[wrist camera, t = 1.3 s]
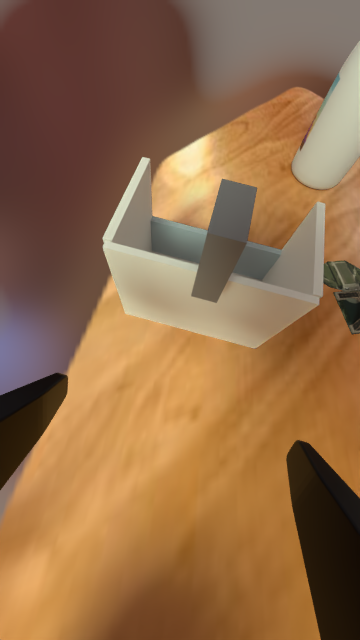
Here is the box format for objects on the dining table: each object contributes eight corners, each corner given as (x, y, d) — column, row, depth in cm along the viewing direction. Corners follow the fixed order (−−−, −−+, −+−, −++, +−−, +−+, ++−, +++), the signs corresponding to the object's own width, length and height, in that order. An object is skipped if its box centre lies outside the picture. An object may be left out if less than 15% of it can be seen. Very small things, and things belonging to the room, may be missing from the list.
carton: (253, 346, 25) (322, 296, 14) (126, 312, 25) (102, 238, 15) (262, 283, 28) (325, 203, 17) (149, 253, 28) (142, 156, 18)
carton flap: (252, 365, 22) (404, 284, 8) (119, 328, 23) (55, 193, 9) (256, 336, 24) (396, 223, 10) (129, 301, 24) (87, 144, 10)
